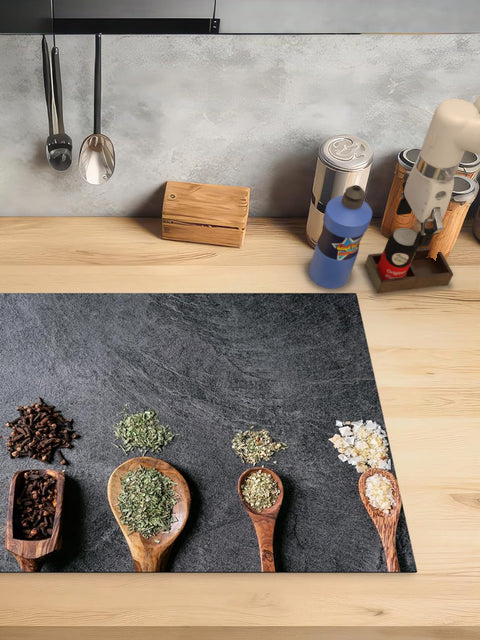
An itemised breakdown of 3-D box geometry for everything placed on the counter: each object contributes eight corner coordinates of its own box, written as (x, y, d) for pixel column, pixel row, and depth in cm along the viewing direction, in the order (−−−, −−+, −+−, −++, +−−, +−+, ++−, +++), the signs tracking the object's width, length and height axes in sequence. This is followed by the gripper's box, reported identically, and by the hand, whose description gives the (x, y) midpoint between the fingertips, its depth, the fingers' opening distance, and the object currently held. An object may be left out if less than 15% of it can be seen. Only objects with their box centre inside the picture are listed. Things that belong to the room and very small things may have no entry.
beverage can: (369, 272, 166) (384, 233, 156) (389, 260, 168) (405, 221, 158) (390, 289, 162) (406, 251, 153) (410, 277, 164) (427, 238, 155)
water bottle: (356, 285, 164) (388, 200, 144) (316, 292, 163) (343, 207, 143) (340, 255, 170) (369, 169, 149) (302, 262, 169) (325, 176, 148)
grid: (433, 257, 169) (438, 246, 166) (447, 285, 164) (453, 274, 161) (364, 265, 168) (368, 254, 165) (376, 293, 163) (381, 282, 160)
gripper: (475, 190, 135) (445, 256, 149) (438, 133, 145) (413, 199, 159) (436, 195, 134) (409, 261, 148) (401, 137, 145) (380, 203, 158)
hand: (411, 229), depth 154 cm, fingers open, 9 cm apart
